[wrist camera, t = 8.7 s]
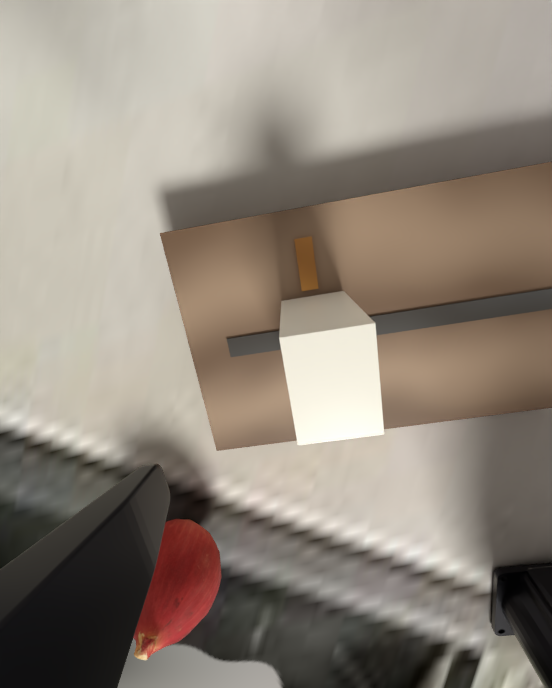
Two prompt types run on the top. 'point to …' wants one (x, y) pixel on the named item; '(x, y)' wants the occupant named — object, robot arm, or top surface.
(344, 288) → the fader console
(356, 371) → the fader knob
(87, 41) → the top surface
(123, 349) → the top surface
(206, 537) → the onion
